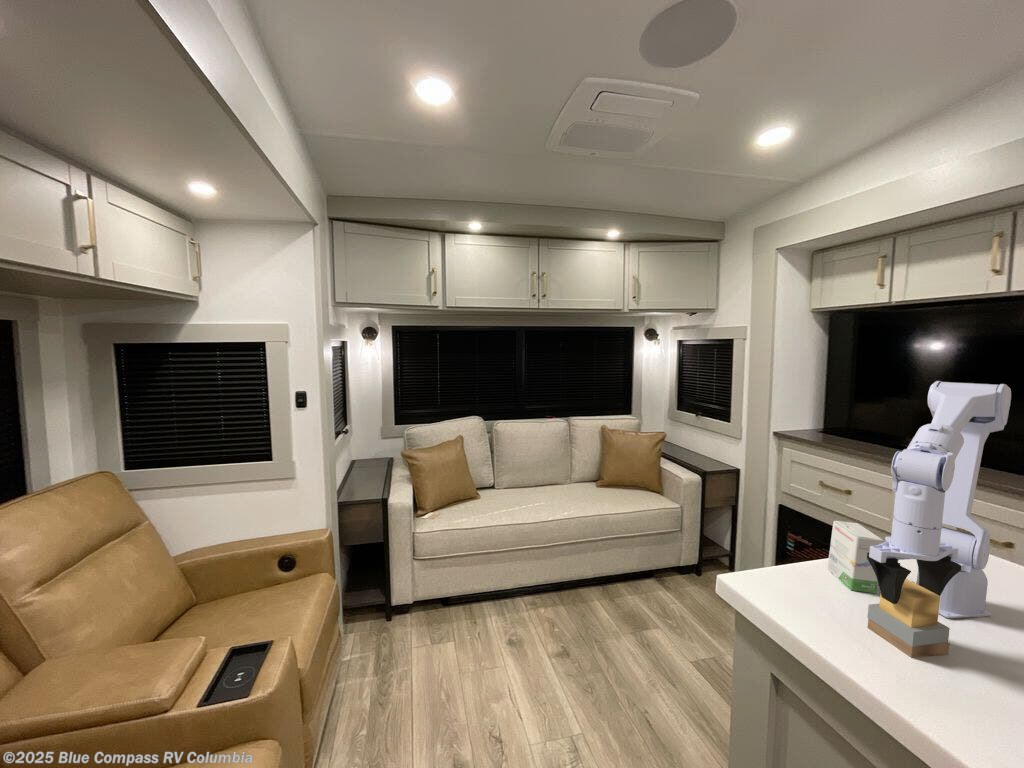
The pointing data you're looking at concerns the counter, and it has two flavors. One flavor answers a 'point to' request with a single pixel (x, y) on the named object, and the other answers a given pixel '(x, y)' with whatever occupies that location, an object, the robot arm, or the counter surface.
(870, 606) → the slate-grey slab
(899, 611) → the ochre cube
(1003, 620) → the counter surface
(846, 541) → the ink box
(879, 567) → the robot arm
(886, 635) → the walnut slab
